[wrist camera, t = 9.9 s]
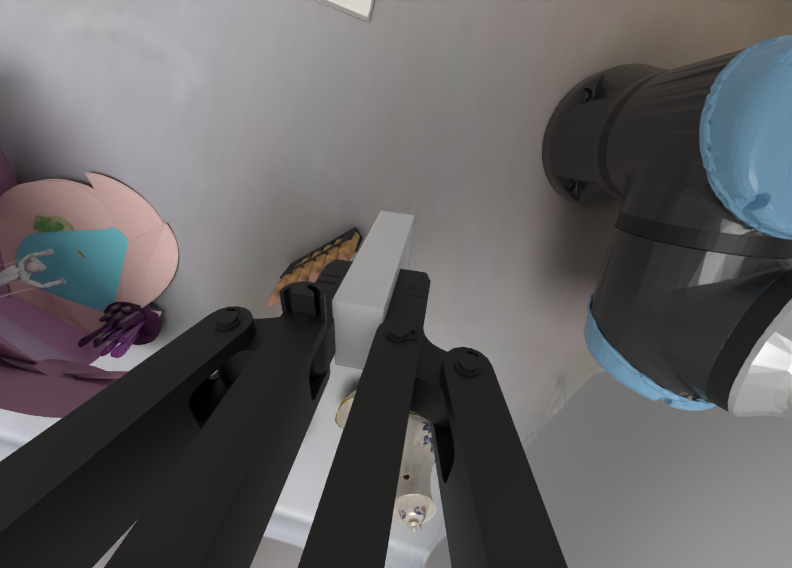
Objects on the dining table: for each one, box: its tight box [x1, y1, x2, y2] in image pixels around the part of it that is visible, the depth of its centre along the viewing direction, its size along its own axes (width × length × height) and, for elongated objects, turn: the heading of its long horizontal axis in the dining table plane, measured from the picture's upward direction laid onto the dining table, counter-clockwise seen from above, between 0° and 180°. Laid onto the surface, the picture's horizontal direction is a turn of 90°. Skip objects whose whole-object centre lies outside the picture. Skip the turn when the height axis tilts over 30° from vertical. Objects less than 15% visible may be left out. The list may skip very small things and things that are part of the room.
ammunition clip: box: [268, 228, 363, 306], centre depth 39 cm, size 11×2×12 cm, turn 119°
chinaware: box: [335, 390, 436, 532], centre depth 50 cm, size 28×17×17 cm, turn 8°
